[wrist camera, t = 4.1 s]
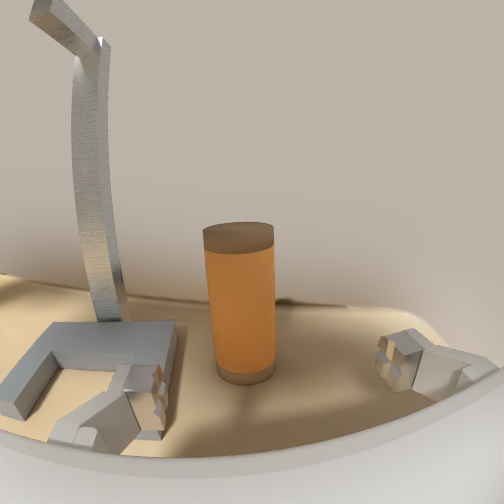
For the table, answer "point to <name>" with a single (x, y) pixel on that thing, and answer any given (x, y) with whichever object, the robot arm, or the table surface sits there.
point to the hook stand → (90, 155)
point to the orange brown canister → (242, 299)
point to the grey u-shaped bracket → (88, 358)
